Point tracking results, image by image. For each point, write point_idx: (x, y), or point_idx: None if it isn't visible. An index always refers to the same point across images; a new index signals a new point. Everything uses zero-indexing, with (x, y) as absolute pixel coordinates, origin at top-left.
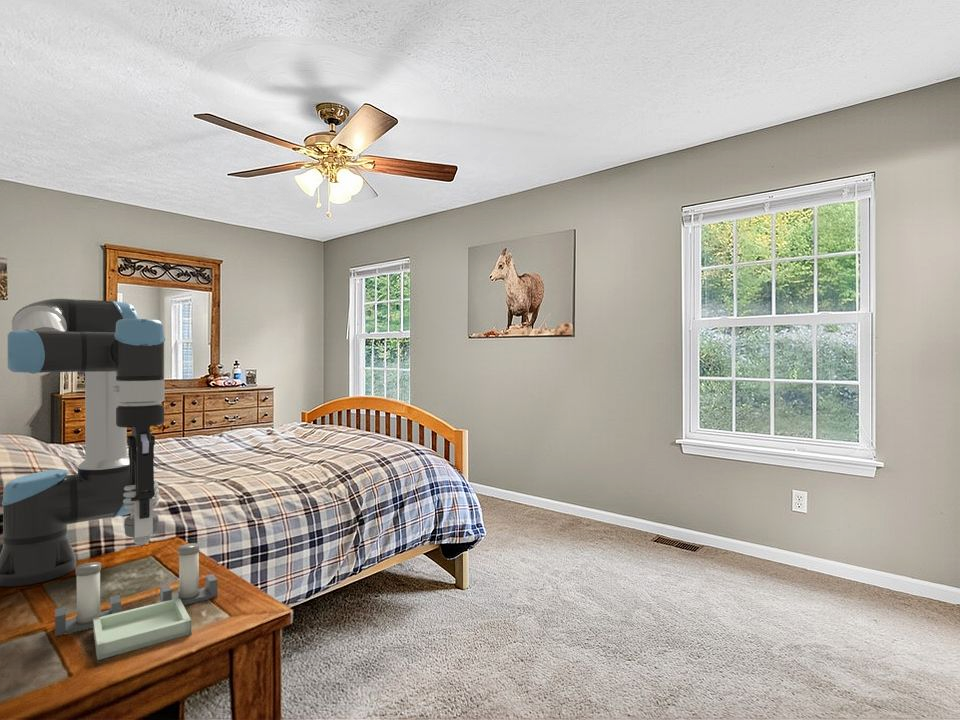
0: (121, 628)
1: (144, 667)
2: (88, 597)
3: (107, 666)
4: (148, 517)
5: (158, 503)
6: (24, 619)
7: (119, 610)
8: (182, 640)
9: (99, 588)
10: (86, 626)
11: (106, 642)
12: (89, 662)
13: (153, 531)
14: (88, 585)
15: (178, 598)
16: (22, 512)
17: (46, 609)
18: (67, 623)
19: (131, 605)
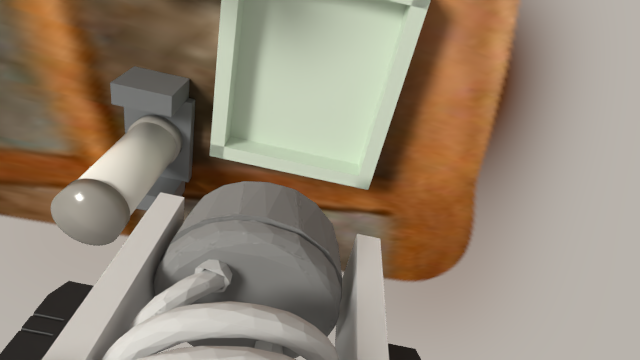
0: (268, 106)
1: (485, 126)
2: (155, 176)
3: (410, 168)
4: (414, 354)
5: (276, 319)
6: (48, 203)
7: (180, 91)
8: (440, 18)
9: (133, 157)
10: (190, 148)
11: (372, 175)
12: None
13: (328, 221)
14: (141, 194)
15: None
16: None
17: (9, 166)
18: None
19: (99, 27)
